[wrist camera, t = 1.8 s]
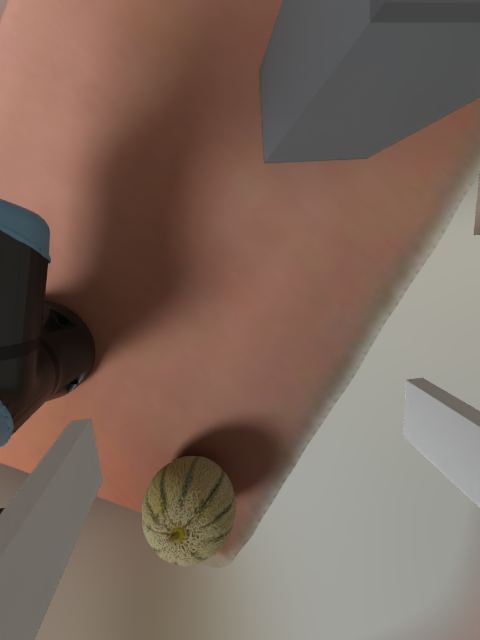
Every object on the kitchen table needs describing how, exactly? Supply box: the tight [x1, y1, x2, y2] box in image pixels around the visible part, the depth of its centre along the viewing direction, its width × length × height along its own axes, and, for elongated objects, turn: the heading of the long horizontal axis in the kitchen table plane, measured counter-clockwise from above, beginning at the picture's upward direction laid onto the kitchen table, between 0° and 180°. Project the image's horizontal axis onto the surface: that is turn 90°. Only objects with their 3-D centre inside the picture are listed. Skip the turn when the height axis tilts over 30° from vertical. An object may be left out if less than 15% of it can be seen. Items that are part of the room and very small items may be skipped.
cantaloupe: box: [142, 456, 236, 566], centre depth 50 cm, size 15×15×15 cm
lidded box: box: [260, 0, 480, 163], centre depth 31 cm, size 16×12×32 cm
